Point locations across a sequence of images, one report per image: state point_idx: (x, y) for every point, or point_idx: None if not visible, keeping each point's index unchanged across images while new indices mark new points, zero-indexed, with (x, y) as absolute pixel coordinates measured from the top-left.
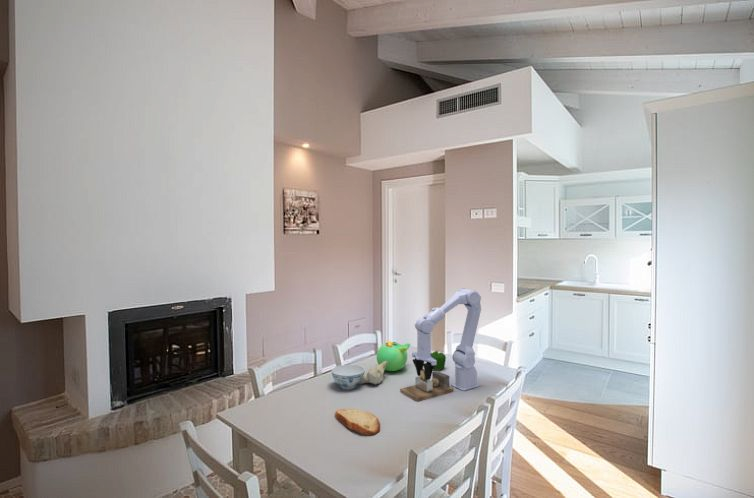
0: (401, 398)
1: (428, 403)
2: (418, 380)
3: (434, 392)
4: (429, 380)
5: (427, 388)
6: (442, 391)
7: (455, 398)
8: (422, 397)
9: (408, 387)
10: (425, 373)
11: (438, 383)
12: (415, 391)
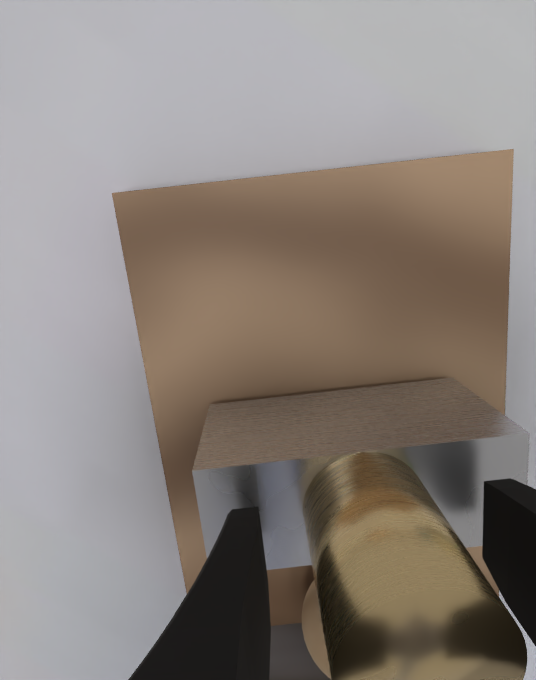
0: (307, 61)
1: (39, 297)
2: (424, 427)
3: (190, 484)
4: (267, 556)
5: (204, 431)
6: (184, 573)
7: (59, 601)
8: (132, 284)
9: (486, 284)
10: (226, 594)
11: (304, 635)
12: (322, 295)
